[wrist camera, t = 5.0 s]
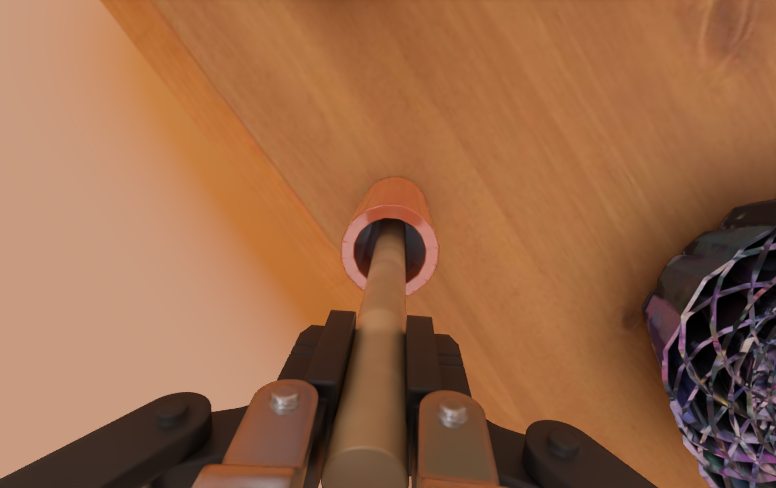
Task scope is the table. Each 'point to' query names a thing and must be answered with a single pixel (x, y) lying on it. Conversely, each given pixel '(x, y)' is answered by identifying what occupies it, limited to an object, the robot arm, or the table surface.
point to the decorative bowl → (722, 346)
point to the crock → (420, 237)
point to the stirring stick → (375, 380)
